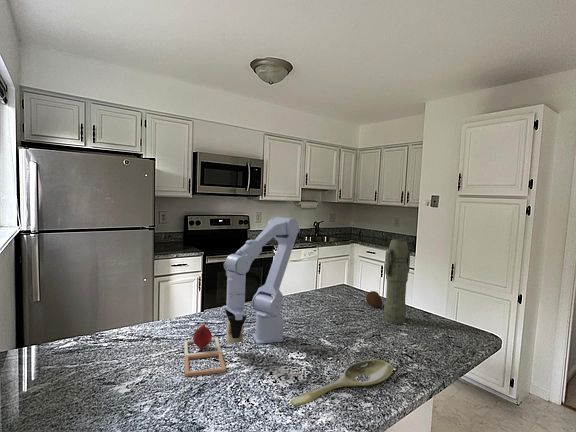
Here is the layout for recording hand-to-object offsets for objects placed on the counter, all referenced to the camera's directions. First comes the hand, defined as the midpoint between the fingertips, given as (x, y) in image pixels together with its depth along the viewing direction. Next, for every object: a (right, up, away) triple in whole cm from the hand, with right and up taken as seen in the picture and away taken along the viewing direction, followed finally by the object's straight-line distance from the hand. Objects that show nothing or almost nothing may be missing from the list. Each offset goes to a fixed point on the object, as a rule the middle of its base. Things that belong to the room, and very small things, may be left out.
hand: (234, 334), depth 105 cm
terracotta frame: (-8, -6, -8) cm, 13 cm away
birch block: (0, -2, 0) cm, 2 cm away
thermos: (+63, -7, +37) cm, 73 cm away
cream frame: (-11, -5, +2) cm, 12 cm away
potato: (+59, -6, +56) cm, 82 cm away
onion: (-11, -6, +2) cm, 13 cm away
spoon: (+32, -9, -15) cm, 37 cm away
